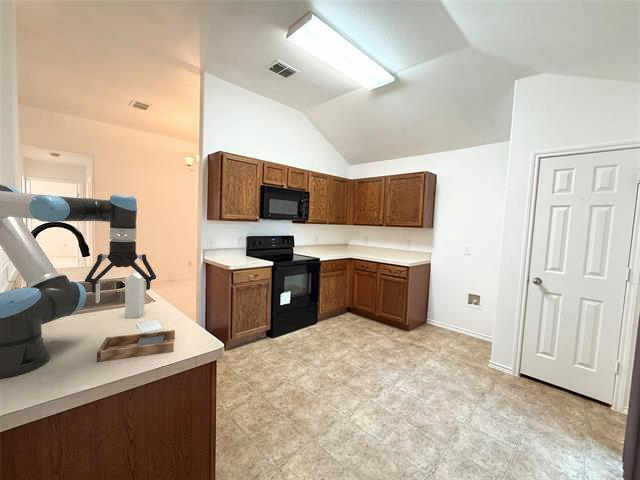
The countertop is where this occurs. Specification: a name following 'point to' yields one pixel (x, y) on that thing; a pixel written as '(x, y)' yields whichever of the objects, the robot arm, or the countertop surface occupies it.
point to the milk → (134, 295)
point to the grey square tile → (151, 340)
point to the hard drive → (149, 326)
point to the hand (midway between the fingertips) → (122, 300)
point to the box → (134, 346)
